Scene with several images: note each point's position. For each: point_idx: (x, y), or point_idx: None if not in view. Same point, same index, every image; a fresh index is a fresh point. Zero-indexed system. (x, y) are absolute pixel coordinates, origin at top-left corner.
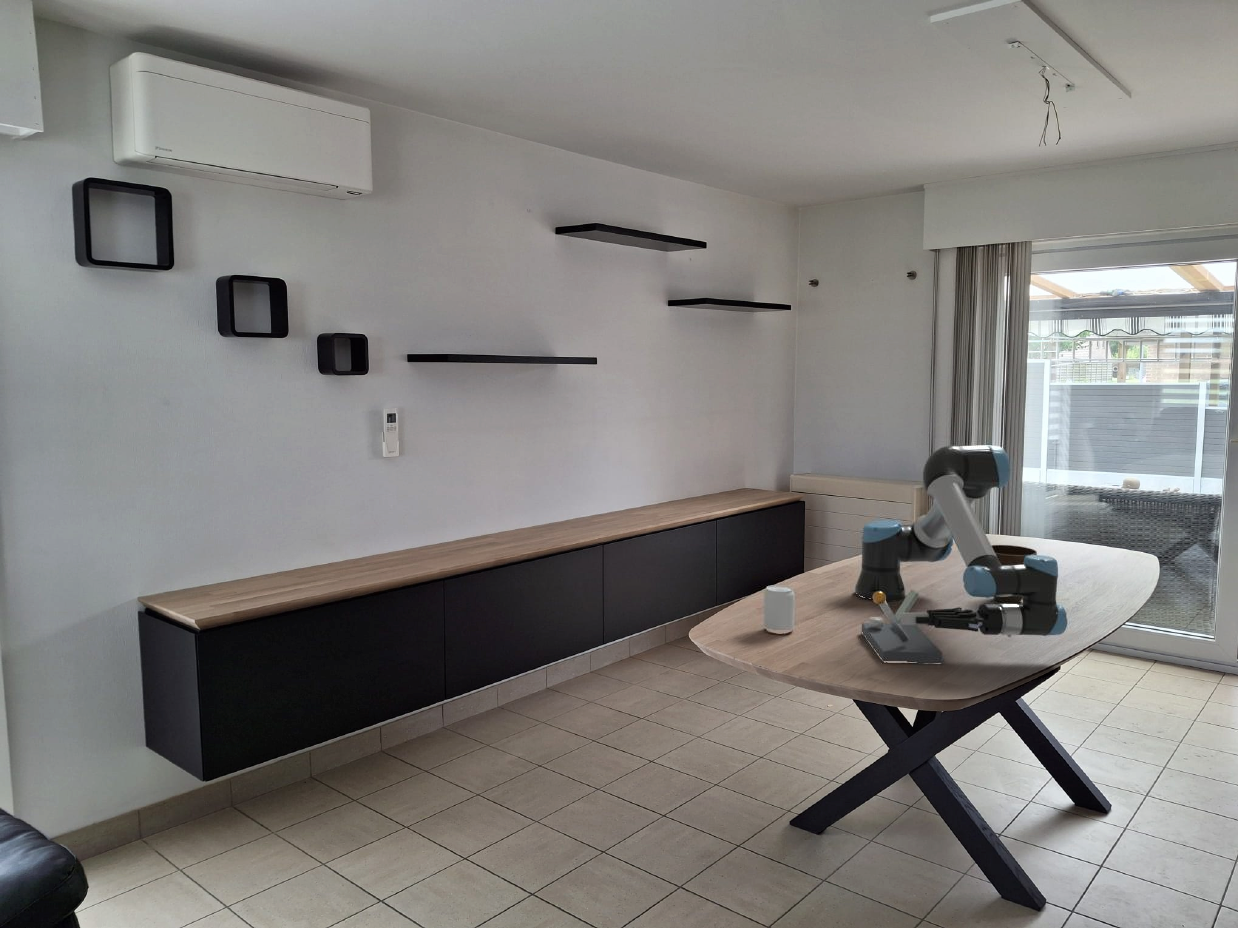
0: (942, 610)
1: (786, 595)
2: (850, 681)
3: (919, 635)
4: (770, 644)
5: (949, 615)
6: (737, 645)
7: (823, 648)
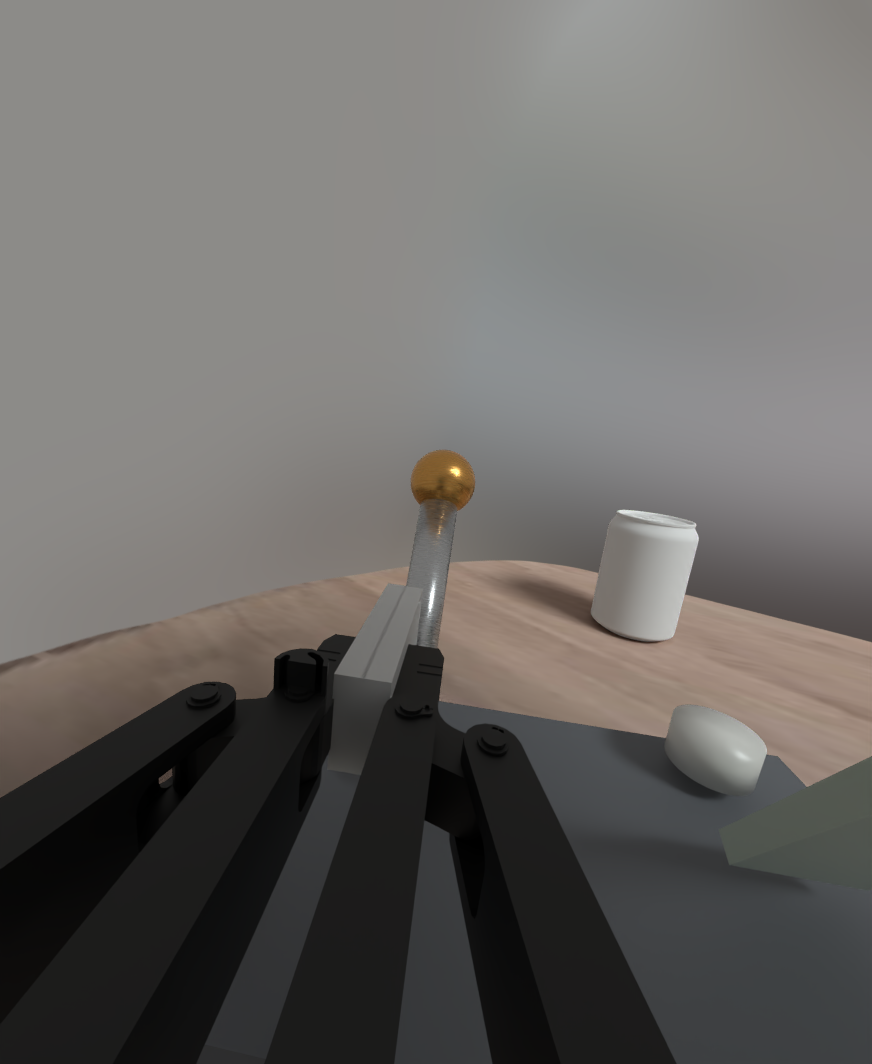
0: (524, 936)
1: (620, 525)
2: (227, 622)
3: (679, 1053)
4: (516, 599)
5: (169, 894)
6: (501, 575)
7: (501, 652)
